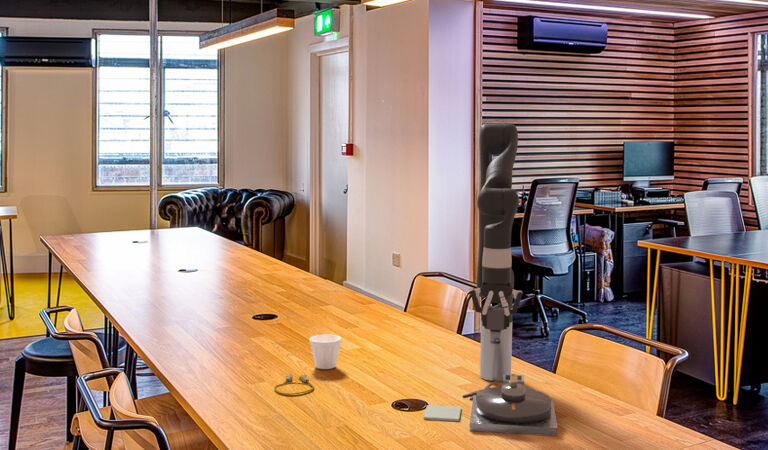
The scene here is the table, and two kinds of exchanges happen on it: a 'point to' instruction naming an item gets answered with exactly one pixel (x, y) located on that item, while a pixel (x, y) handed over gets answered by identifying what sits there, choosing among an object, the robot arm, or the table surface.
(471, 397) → the pliers
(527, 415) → the chuck collar
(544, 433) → the drill stand
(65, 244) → the table surface
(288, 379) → the olive earphones
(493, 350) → the robot arm
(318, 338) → the cup
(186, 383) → the table surface
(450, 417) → the mat
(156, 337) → the table surface
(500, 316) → the block
